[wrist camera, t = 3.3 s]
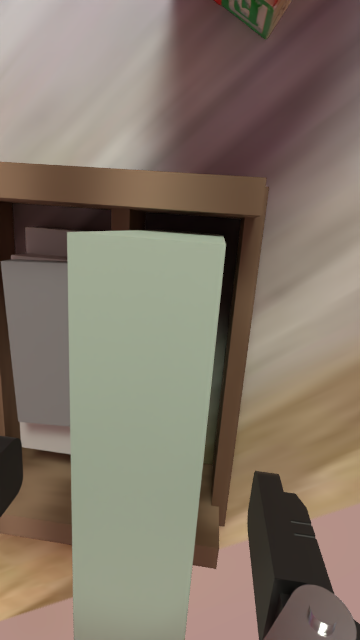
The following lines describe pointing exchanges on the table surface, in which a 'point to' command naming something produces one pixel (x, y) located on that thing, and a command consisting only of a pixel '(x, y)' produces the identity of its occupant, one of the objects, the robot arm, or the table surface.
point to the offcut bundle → (40, 337)
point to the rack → (126, 214)
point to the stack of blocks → (257, 13)
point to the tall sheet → (138, 423)
